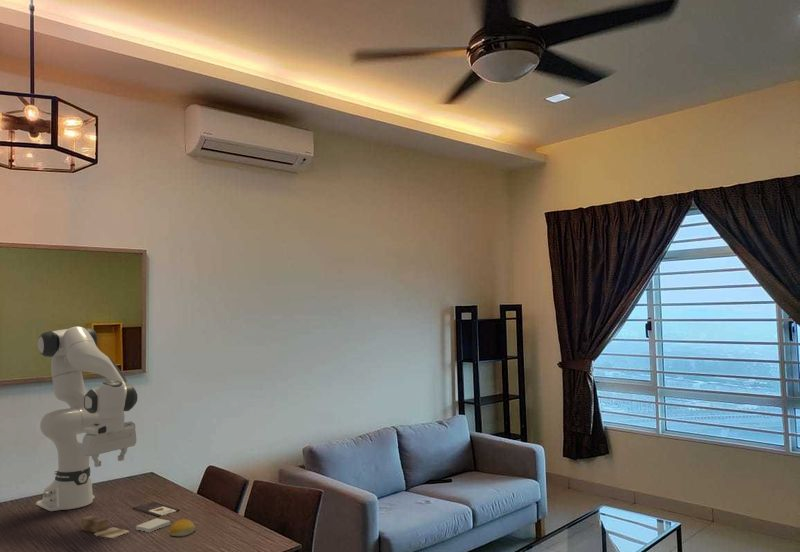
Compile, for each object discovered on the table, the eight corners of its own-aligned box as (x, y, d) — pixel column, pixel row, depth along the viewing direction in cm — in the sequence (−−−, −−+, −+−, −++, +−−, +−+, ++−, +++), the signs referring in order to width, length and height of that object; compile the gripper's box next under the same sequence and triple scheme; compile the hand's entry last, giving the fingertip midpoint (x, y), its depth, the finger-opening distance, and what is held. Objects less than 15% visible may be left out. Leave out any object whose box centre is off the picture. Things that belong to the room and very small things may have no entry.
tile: (135, 525, 208) (149, 528, 205) (156, 518, 216) (170, 520, 213) (135, 531, 208) (149, 534, 204) (156, 523, 216) (170, 525, 212)
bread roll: (169, 539, 199) (169, 527, 199) (170, 530, 207) (170, 518, 208) (195, 535, 202) (195, 523, 202) (194, 527, 210) (194, 515, 211)
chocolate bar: (153, 501, 238) (179, 509, 228) (153, 504, 238) (179, 512, 228) (132, 507, 231) (158, 515, 221) (132, 510, 231) (158, 518, 221)
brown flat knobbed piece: (75, 531, 207) (76, 520, 207) (93, 525, 213) (94, 514, 213) (111, 539, 198) (112, 527, 199) (129, 533, 205) (129, 521, 205)
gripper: (129, 419, 225) (128, 456, 224) (79, 429, 207) (78, 468, 206) (140, 421, 222) (139, 458, 221) (91, 431, 204) (89, 471, 203)
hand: (109, 463), depth 214 cm, fingers open, 8 cm apart
